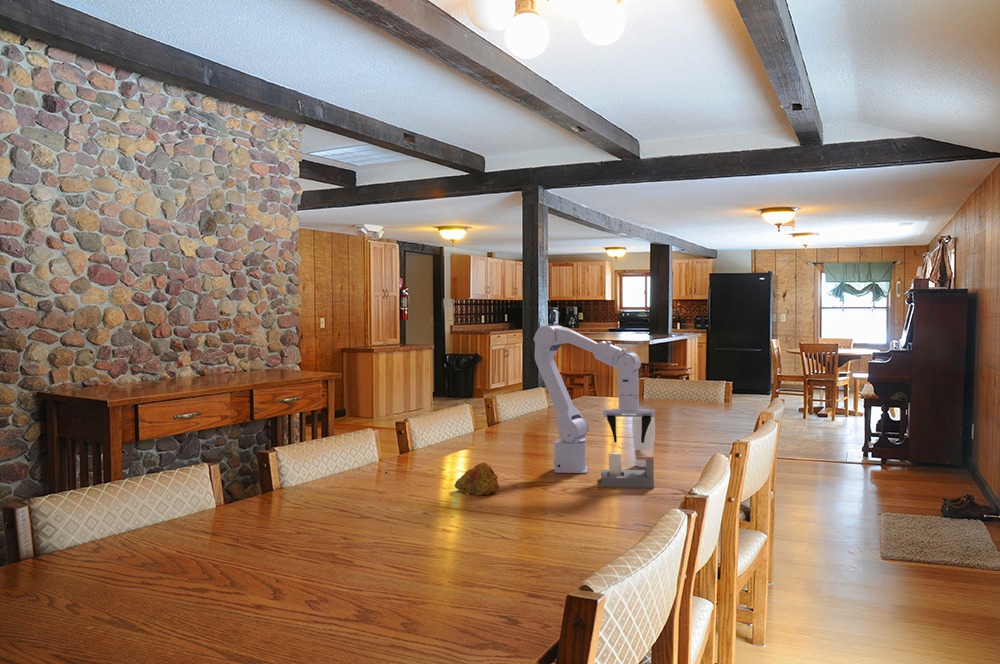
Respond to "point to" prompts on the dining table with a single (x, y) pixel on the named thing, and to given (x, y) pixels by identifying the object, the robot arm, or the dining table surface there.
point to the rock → (478, 480)
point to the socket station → (632, 474)
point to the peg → (614, 464)
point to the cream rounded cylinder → (648, 439)
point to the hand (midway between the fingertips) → (628, 442)
